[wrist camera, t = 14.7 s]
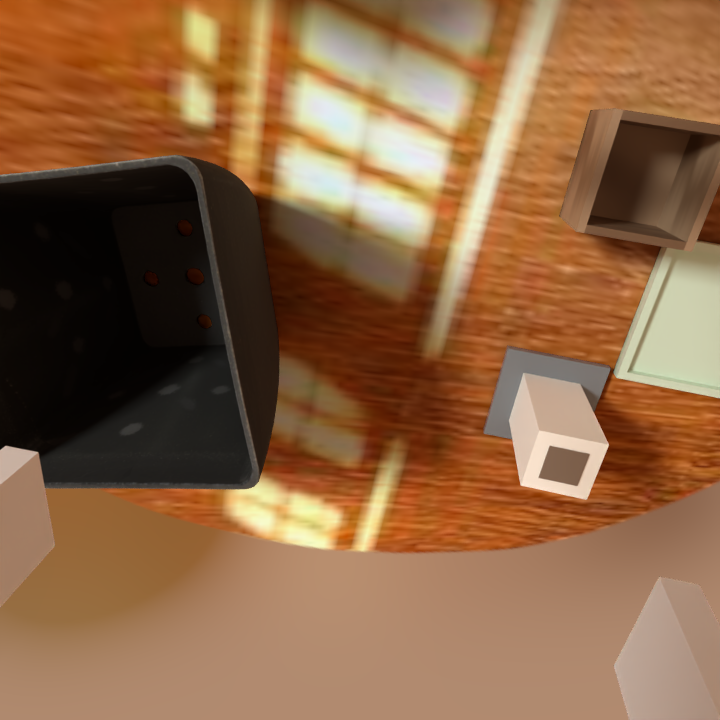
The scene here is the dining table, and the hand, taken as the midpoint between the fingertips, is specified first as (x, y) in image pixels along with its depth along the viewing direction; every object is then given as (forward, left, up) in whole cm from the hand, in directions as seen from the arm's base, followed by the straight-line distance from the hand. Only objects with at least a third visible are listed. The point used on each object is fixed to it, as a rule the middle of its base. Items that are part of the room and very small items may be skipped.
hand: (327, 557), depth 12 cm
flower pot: (+6, -17, -33) cm, 38 cm away
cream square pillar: (+11, +12, -33) cm, 36 cm away
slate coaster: (+11, +13, -33) cm, 37 cm away
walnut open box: (-7, +13, -33) cm, 36 cm away
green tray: (+2, +23, -33) cm, 40 cm away
